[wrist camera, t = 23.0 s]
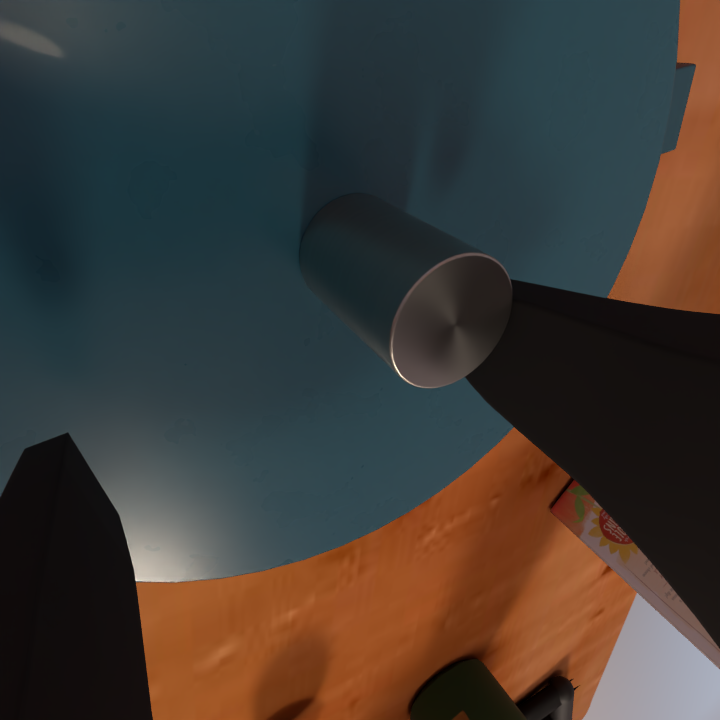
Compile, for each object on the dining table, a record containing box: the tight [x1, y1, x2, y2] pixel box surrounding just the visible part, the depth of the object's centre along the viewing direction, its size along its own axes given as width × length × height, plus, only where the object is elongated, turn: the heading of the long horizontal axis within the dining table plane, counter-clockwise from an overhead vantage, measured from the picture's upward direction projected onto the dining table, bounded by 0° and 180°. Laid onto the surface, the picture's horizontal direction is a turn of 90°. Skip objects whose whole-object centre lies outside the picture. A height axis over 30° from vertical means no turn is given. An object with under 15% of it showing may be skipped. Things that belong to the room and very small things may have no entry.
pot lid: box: [0, 0, 680, 583], centre depth 10 cm, size 19×19×5 cm
